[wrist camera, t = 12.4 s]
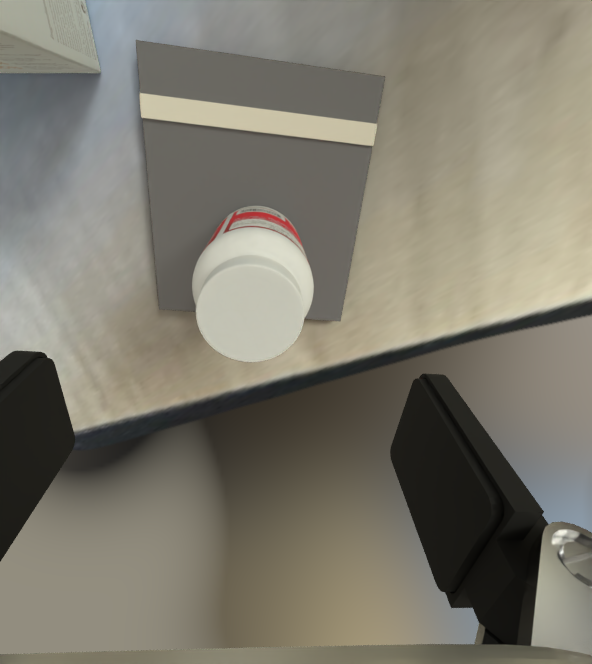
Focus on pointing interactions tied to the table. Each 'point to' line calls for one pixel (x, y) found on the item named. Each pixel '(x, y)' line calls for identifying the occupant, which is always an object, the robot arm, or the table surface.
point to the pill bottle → (252, 285)
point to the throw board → (254, 158)
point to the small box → (46, 37)
